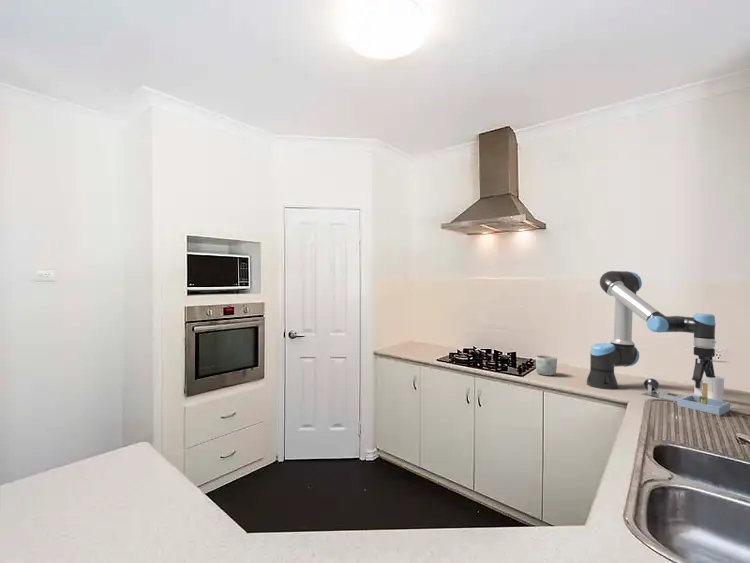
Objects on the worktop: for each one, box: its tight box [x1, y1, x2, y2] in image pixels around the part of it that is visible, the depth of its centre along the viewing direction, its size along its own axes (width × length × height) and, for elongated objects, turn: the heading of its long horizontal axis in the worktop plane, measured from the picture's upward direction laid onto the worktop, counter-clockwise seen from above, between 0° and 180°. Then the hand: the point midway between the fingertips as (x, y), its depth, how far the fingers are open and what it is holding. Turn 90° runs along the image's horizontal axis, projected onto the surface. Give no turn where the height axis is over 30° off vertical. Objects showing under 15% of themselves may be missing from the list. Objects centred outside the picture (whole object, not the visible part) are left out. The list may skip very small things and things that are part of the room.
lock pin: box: [700, 382, 708, 405], centre depth 180 cm, size 3×3×11 cm
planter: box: [535, 355, 558, 377], centre depth 246 cm, size 12×12×11 cm
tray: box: [676, 394, 731, 417], centre depth 180 cm, size 15×15×4 cm
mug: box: [702, 375, 725, 401], centre depth 195 cm, size 10×7×12 cm, turn 19°
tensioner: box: [640, 378, 687, 403], centre depth 197 cm, size 17×10×8 cm, turn 34°
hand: (703, 393), depth 180 cm, fingers open, 13 cm apart
